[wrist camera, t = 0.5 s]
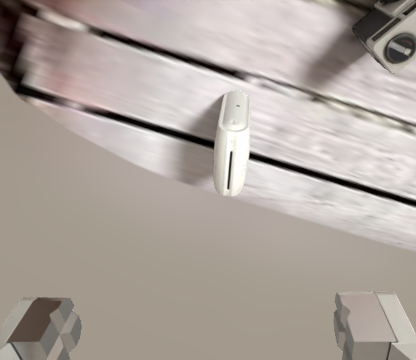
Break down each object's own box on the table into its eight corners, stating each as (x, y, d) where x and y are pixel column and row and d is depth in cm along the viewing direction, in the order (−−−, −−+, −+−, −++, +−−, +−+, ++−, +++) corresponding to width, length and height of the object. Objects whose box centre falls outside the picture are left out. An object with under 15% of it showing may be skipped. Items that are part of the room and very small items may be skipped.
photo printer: (222, 87, 48) (213, 130, 38) (253, 90, 47) (252, 134, 38) (218, 151, 54) (209, 202, 44) (245, 153, 54) (243, 205, 44)
